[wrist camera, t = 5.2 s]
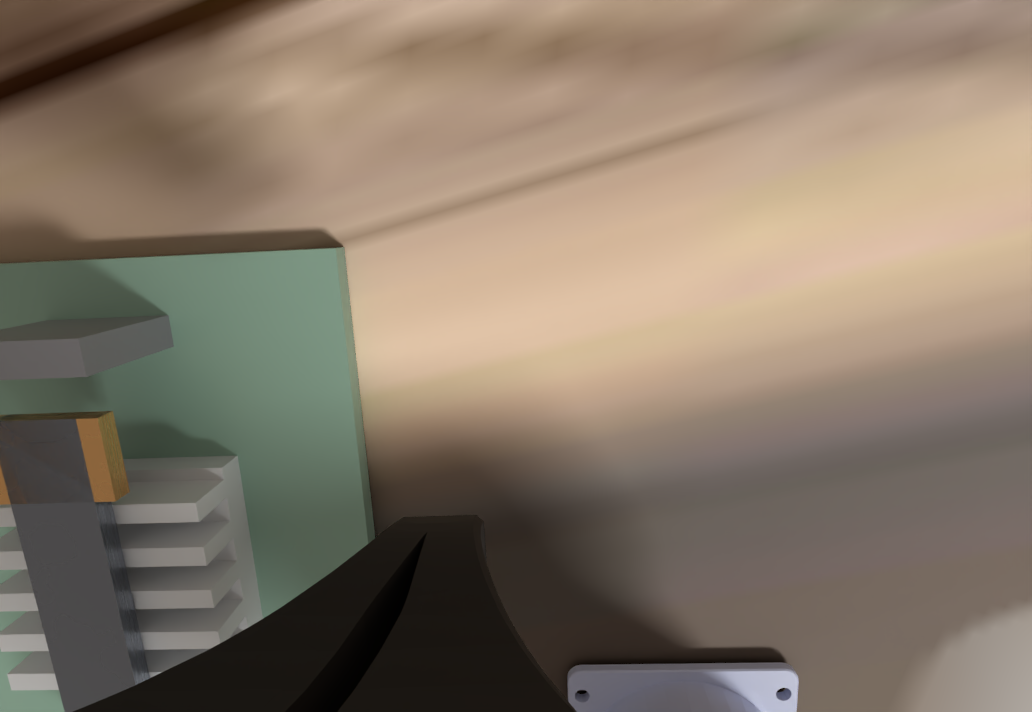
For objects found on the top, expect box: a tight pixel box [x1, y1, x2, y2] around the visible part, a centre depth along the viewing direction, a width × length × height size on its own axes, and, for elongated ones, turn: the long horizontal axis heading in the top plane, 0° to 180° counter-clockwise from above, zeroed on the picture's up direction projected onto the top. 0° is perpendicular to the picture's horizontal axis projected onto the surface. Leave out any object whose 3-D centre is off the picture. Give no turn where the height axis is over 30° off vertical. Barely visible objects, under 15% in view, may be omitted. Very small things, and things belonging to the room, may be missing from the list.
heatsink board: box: [0, 247, 375, 712], centre depth 19 cm, size 20×15×5 cm
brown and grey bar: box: [0, 411, 150, 712], centre depth 18 cm, size 13×4×2 cm, turn 3°
